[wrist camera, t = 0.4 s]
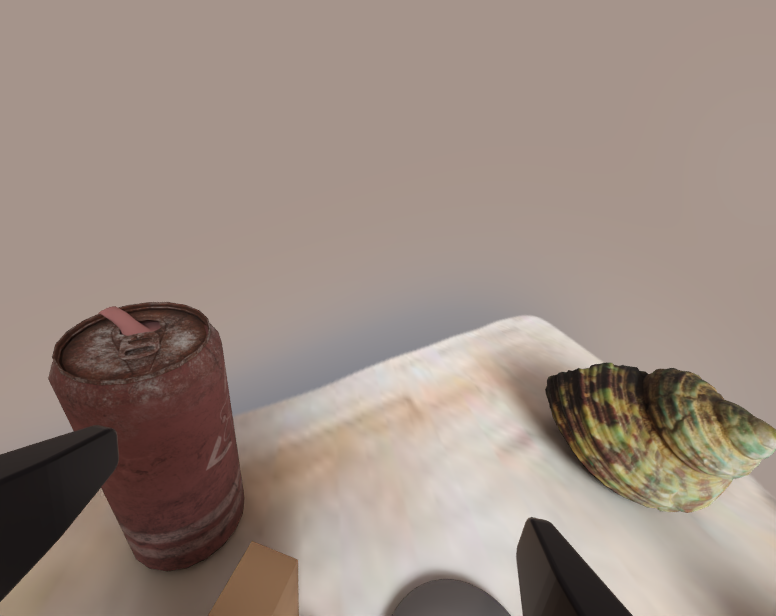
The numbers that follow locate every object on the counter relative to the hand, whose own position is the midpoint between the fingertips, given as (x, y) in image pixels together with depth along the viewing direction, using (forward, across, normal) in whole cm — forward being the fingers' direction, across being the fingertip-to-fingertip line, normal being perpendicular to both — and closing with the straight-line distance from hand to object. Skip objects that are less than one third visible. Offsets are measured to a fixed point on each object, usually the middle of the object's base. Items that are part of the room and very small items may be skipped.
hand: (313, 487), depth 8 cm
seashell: (+21, -20, +12) cm, 31 cm away
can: (+10, +10, +15) cm, 20 cm away
